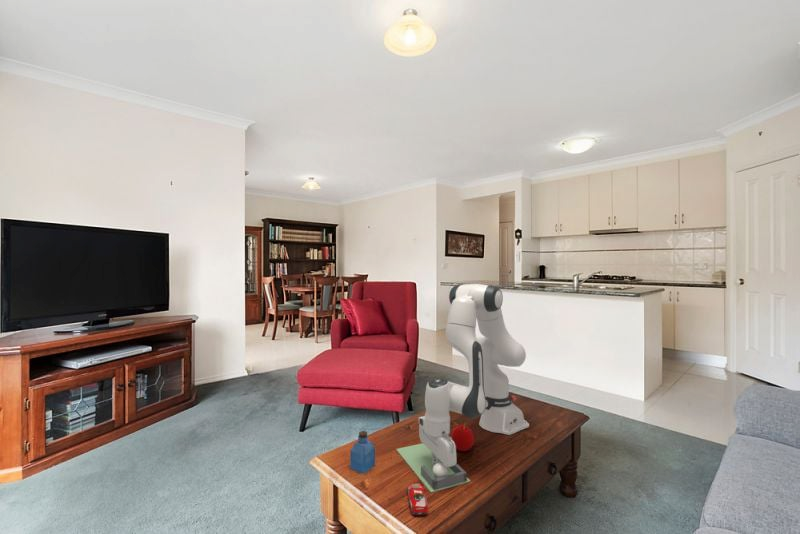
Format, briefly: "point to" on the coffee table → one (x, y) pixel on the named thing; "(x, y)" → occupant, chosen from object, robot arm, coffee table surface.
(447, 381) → the robot arm
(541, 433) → the coffee table surface
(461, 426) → the fruit
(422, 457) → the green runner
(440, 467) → the ball
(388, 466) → the coffee table surface
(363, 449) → the perfume bottle
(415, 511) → the race car
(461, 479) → the gray u-shaped frame
